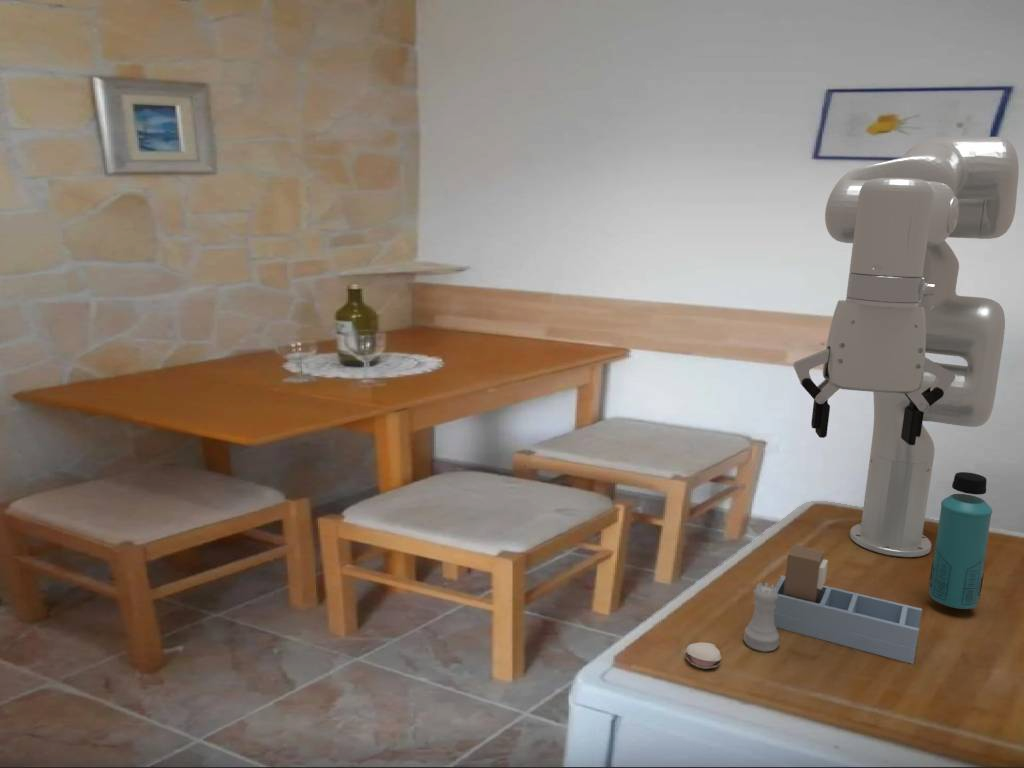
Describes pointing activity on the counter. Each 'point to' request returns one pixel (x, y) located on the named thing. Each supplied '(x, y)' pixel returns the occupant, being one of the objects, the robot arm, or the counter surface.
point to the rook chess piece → (763, 620)
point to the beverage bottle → (961, 544)
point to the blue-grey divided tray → (842, 611)
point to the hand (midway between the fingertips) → (863, 438)
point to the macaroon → (703, 655)
